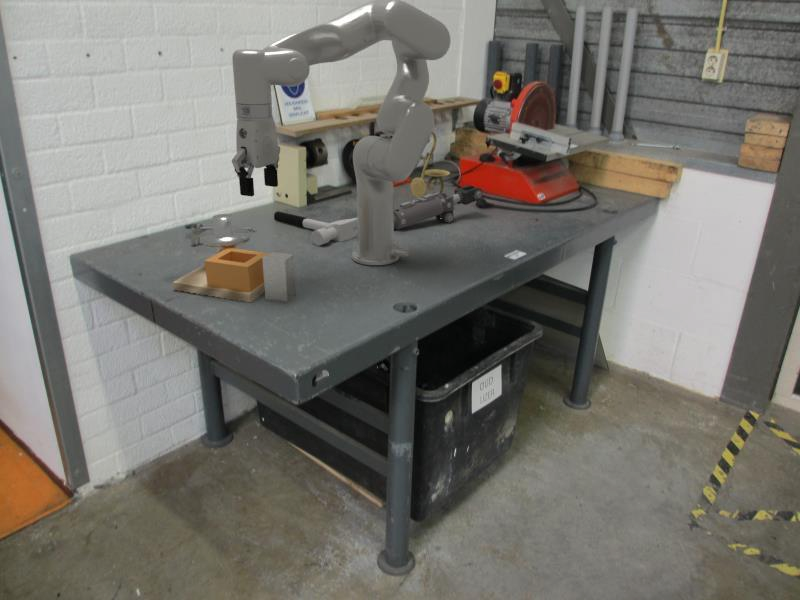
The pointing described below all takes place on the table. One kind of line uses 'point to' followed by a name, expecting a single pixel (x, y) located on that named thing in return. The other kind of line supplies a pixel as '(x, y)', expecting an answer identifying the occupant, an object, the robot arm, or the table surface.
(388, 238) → the robot arm
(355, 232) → the claw hammer
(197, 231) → the grey small pieces
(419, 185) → the wall sconce
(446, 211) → the hydraulic cylinder
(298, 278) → the table surface
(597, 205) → the table surface
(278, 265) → the grey upright block
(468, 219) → the table surface
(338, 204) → the table surface
